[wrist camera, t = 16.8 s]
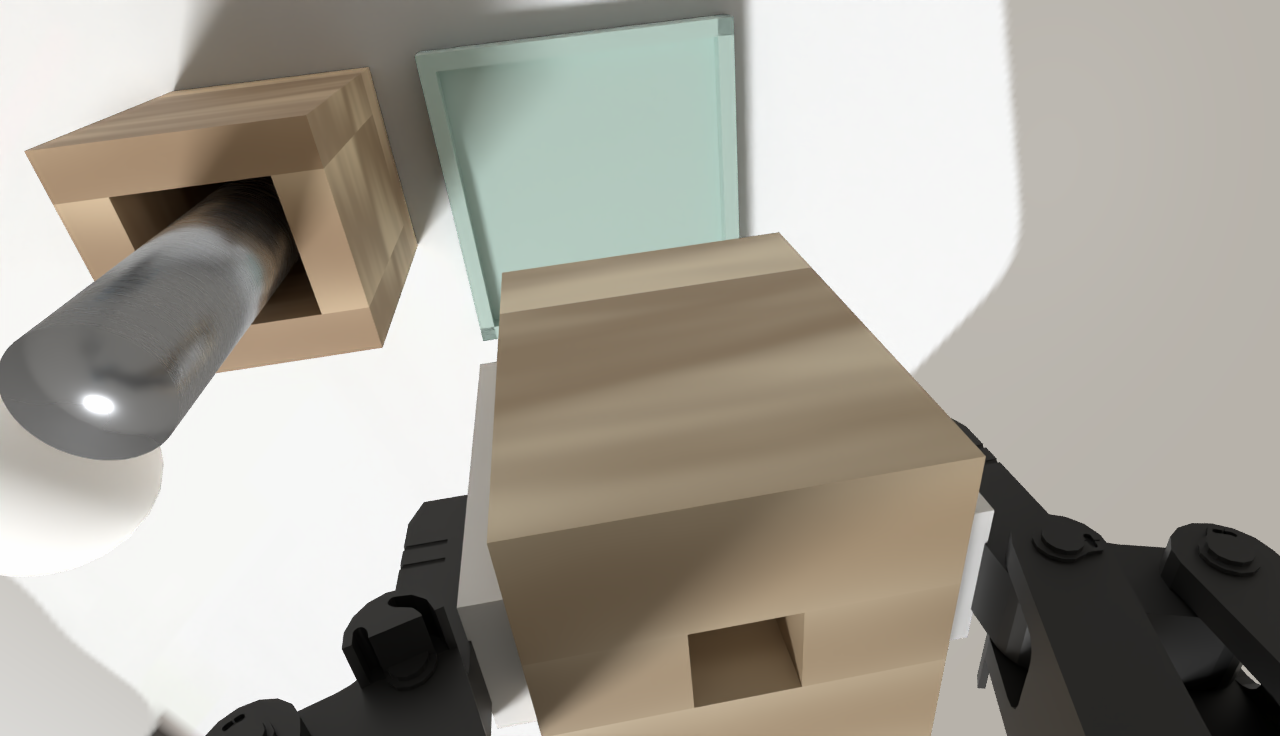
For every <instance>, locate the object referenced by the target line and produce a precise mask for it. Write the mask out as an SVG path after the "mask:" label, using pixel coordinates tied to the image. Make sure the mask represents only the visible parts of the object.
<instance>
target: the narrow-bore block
mask: <svg viewBox="0 0 1280 736" xmlns="http://www.w3.org/2000/svg"><path fill="white" fill-rule="evenodd" d="M985 458H986V456H985V455H984V454H983V453H982V452H981V450H980V449H979V448H978V447H977V446H976V445H975V444H974V443H973V442H972V441H971V440H970V439H969V437H968V436H967V435H966V434H965V433H964V432H963V431H962V430H961V429H960V428H959V427H958V426H957V425H956V423H955V422H954V421H953V420H952V419H951V418H950V417H949V416H948V415H947V414H946V413H945V412H944V410H943V409H942V408H941V407H940V406H939V405H938V404H937V403H936V402H935V401H934V400H933V399H932V398H931V397H930V395H929V394H928V393H927V392H926V391H925V390H924V389H923V388H922V387H921V386H920V385H919V384H918V382H917V381H916V380H915V379H914V378H913V377H912V376H911V375H910V374H909V373H908V371H907V370H906V369H905V368H904V367H903V366H902V365H901V364H900V363H899V362H898V361H897V360H896V359H895V357H894V356H893V355H892V354H891V353H890V352H889V351H888V350H887V349H886V348H885V347H884V346H883V344H882V343H881V342H880V341H879V340H878V339H877V338H876V337H875V336H874V335H873V334H872V333H871V331H870V330H869V329H868V328H867V327H866V326H865V325H864V324H863V323H862V322H861V321H860V320H859V318H858V317H857V316H856V315H855V314H854V313H853V312H852V311H851V310H850V309H849V308H848V307H847V305H846V304H845V303H844V302H843V301H842V300H841V299H840V298H839V297H838V296H837V295H836V294H835V293H834V291H833V290H832V289H831V288H830V287H829V286H828V285H827V284H826V283H825V282H824V281H823V280H822V278H821V277H820V276H819V275H818V274H817V273H816V272H815V271H814V270H813V269H812V268H811V267H810V265H809V264H808V263H807V262H806V261H805V260H804V259H803V258H802V257H801V256H800V255H799V254H798V252H797V251H796V250H795V249H794V248H793V247H792V246H791V245H790V244H789V243H788V242H787V241H786V240H785V238H784V237H783V236H782V235H781V234H780V233H779V232H778V233H771V234H764V235H758V236H751V237H744V238H737V239H730V240H723V241H716V242H709V243H703V244H696V245H689V246H682V247H675V248H668V249H661V250H655V251H648V252H641V253H634V254H627V255H620V256H613V257H606V258H600V259H593V260H586V261H579V262H572V263H565V264H558V265H552V266H545V267H538V268H531V269H524V270H517V271H510V272H503V273H502V282H501V300H500V317H499V335H498V353H497V370H496V388H495V406H494V423H493V441H492V459H491V476H490V494H489V511H488V529H487V546H488V549H489V553H490V556H491V560H492V563H493V567H494V570H495V574H496V577H497V581H498V585H499V588H500V592H501V595H502V599H503V602H504V606H505V609H506V613H507V616H508V620H509V623H510V627H511V630H512V634H513V637H514V641H515V644H516V648H517V651H518V655H519V658H520V662H521V665H522V669H523V672H524V676H525V679H526V683H527V686H528V690H529V693H530V697H531V700H532V704H533V707H534V711H535V714H536V718H537V721H538V725H539V728H540V732H541V735H542V736H931V732H932V726H933V721H934V716H935V711H936V706H937V701H938V696H939V691H940V686H941V681H942V675H943V671H944V666H945V661H946V656H947V650H948V645H949V640H950V635H951V630H952V625H953V620H954V615H955V610H956V605H957V600H958V595H959V590H960V585H961V580H962V575H963V570H964V564H965V559H966V554H967V549H968V544H969V539H970V534H971V529H972V524H973V519H974V514H975V509H976V504H977V499H978V494H979V488H980V483H981V478H982V473H983V468H984V463H985Z"/></svg>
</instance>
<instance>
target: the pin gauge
mask: <svg viewBox="0 0 1280 736" xmlns="http://www.w3.org/2000/svg"><path fill="white" fill-rule="evenodd" d="M299 258H300V254H299V251H298V248H297V245H296V243H295V240H294V237H293V235H292V232H291V229H290V226H289V224H288V221H287V218H286V216H285V213H284V210H283V207H282V205H281V202H280V199H279V197H278V194H277V191H276V188H275V186H274V183H273V180H272V178H271V176H264V177H257V178H249V179H242V180H234V181H227V182H226V183H224V184H223V185H222V186H220V187H219V188H218V189H216V190H215V191H214V192H212V193H211V194H210V195H208V196H207V197H206V198H204V199H203V200H202V201H200V202H199V203H198V204H197V205H195V206H194V207H193V208H191V209H190V210H189V211H187V212H186V213H185V214H183V215H182V216H181V217H179V218H178V219H177V220H175V221H174V222H173V223H171V224H170V225H169V226H167V227H166V228H165V229H163V230H162V231H161V232H159V233H158V234H157V235H155V236H154V237H153V238H151V239H150V240H149V241H148V242H146V243H145V244H144V245H142V246H141V247H140V248H138V249H137V250H136V251H134V252H133V253H132V254H130V255H129V256H128V257H126V258H125V259H124V260H122V261H121V262H120V263H118V264H117V265H116V266H114V267H113V268H112V269H110V270H109V271H108V272H106V273H105V274H104V275H103V276H101V277H100V278H99V279H97V280H96V281H95V282H93V283H92V284H91V285H89V286H88V287H87V288H85V289H84V290H83V291H81V292H80V293H79V294H77V295H76V296H75V297H73V298H72V299H71V300H69V301H68V302H67V303H65V304H64V305H63V306H61V307H60V308H59V309H57V310H56V311H55V312H54V313H52V314H51V315H50V316H48V317H47V318H46V319H44V320H43V321H42V322H40V323H39V324H38V325H36V326H35V327H34V328H32V329H31V330H30V331H28V332H27V333H26V334H24V335H23V336H22V337H20V338H19V339H18V340H16V341H15V342H14V343H13V344H12V345H11V346H10V347H9V348H8V349H7V350H6V352H5V353H4V355H3V356H2V358H1V361H0V395H1V398H2V400H3V402H4V404H5V406H6V408H7V409H8V411H9V412H10V413H11V415H12V416H13V418H14V419H15V420H16V421H17V422H18V423H19V424H20V425H21V426H22V427H23V428H24V429H26V430H27V431H28V432H29V433H30V434H32V435H33V436H35V437H36V438H37V439H39V440H41V441H42V442H44V443H46V444H47V445H49V446H51V447H54V448H56V449H58V450H60V451H63V452H66V453H68V454H72V455H75V456H79V457H83V458H88V459H95V460H124V459H130V458H134V457H138V456H141V455H144V454H146V453H148V452H151V451H153V450H154V449H156V448H157V447H159V446H160V445H162V444H163V443H164V442H165V441H166V440H167V439H168V438H169V436H170V435H171V434H172V432H173V431H174V430H175V428H176V427H177V426H178V424H179V423H180V421H181V420H182V419H183V417H184V416H185V415H186V413H187V412H188V410H189V409H190V408H191V406H192V405H193V404H194V402H195V401H196V399H197V398H198V397H199V395H200V394H201V393H202V391H203V390H204V388H205V387H206V386H207V384H208V383H209V382H210V380H211V379H212V377H213V376H214V375H215V373H216V372H217V371H218V369H219V368H220V366H221V365H222V364H223V362H224V361H225V360H226V358H227V357H228V355H229V354H230V353H231V351H232V350H233V349H234V347H235V346H236V344H237V343H238V342H239V340H240V339H241V338H242V336H243V335H244V333H245V332H246V331H247V329H248V328H249V327H250V325H251V324H252V322H253V321H254V320H255V318H256V317H257V316H258V314H259V313H260V311H261V310H262V309H263V307H264V306H265V305H266V303H267V302H268V300H269V299H270V298H271V296H272V295H273V294H274V292H275V291H276V289H277V288H278V287H279V285H280V284H281V283H282V281H283V280H284V278H285V277H286V276H287V274H288V273H289V272H290V270H291V269H292V267H293V266H294V265H295V263H296V262H297V261H298V259H299Z"/></svg>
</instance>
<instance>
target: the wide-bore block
mask: <svg viewBox="0 0 1280 736" xmlns="http://www.w3.org/2000/svg"><path fill="white" fill-rule="evenodd" d="M24 152H25V153H26V155H27V157H28V159H29V161H30V163H31V164H32V166H33V168H34V170H35V172H36V174H37V176H38V177H39V179H40V181H41V183H42V185H43V187H44V189H45V190H46V192H47V194H48V196H49V198H50V200H51V202H52V203H53V205H54V207H55V209H56V211H57V213H58V215H59V216H60V218H61V220H62V222H63V224H64V226H65V227H66V229H67V231H68V233H69V235H70V237H71V239H72V240H73V242H74V244H75V246H76V248H77V250H78V252H79V253H80V255H81V257H82V259H83V261H84V263H85V265H86V266H87V268H88V270H89V272H90V274H91V276H92V278H93V279H94V281H96V280H97V279H99V278H100V277H101V276H103V275H104V274H105V273H106V272H108V271H109V270H110V269H112V268H113V267H114V266H116V265H117V264H118V263H120V262H121V261H122V260H124V259H125V258H126V257H128V256H129V255H130V254H132V253H133V252H134V251H136V250H137V249H138V248H140V247H141V246H142V245H144V244H145V243H146V242H148V241H149V240H150V239H151V238H153V237H154V236H155V235H157V234H158V233H159V232H161V231H162V230H163V229H165V228H166V227H167V226H169V225H170V224H171V223H173V222H174V221H175V220H177V219H178V218H179V217H181V216H182V215H183V214H185V213H186V212H187V211H189V210H190V209H191V208H193V207H194V206H195V205H197V204H198V203H199V202H200V201H202V200H203V199H204V198H206V197H207V196H208V195H210V194H211V193H212V192H214V191H215V190H216V189H218V188H219V187H220V186H222V185H223V184H224V183H226V182H227V181H234V180H242V179H249V178H257V177H264V176H271V178H272V180H273V183H274V186H275V188H276V191H277V194H278V197H279V199H280V202H281V205H282V207H283V210H284V213H285V216H286V218H287V221H288V224H289V226H290V229H291V232H292V235H293V237H294V240H295V243H296V245H297V248H298V251H299V254H300V258H299V259H298V261H297V262H296V263H295V265H294V266H293V267H292V269H291V270H290V272H289V273H288V274H287V276H286V277H285V278H284V280H283V281H282V283H281V284H280V285H279V287H278V288H277V289H276V291H275V292H274V294H273V295H272V296H271V298H270V299H269V300H268V302H267V303H266V305H265V306H264V307H263V309H262V310H261V311H260V313H259V314H258V316H257V317H256V318H255V320H254V321H253V322H252V324H251V325H250V327H249V328H248V329H247V331H246V332H245V333H244V335H243V336H242V338H241V339H240V340H239V342H238V343H237V344H236V346H235V347H234V349H233V350H232V351H231V353H230V354H229V355H228V357H227V358H226V360H225V361H224V362H223V364H222V365H221V366H220V368H219V369H218V371H217V372H216V373H220V372H226V371H233V370H239V369H246V368H252V367H259V366H265V365H272V364H278V363H285V362H291V361H298V360H305V359H311V358H318V357H324V356H331V355H337V354H344V353H350V352H357V351H363V350H370V349H376V348H382V347H383V344H384V342H385V339H386V336H387V333H388V330H389V327H390V324H391V321H392V318H393V315H394V313H395V310H396V307H397V304H398V301H399V298H400V295H401V292H402V289H403V287H404V284H405V281H406V278H407V275H408V272H409V269H410V266H411V263H412V261H413V258H414V255H415V252H416V249H417V246H418V245H417V241H416V237H415V234H414V230H413V226H412V223H411V219H410V216H409V212H408V208H407V205H406V201H405V197H404V194H403V190H402V186H401V183H400V179H399V175H398V172H397V168H396V165H395V161H394V157H393V154H392V150H391V146H390V143H389V139H388V135H387V132H386V128H385V125H384V121H383V117H382V114H381V110H380V106H379V103H378V99H377V95H376V92H375V88H374V85H373V81H372V77H371V74H370V70H369V67H365V68H357V69H349V70H341V71H333V72H324V73H316V74H308V75H300V76H292V77H284V78H276V79H268V80H260V81H252V82H244V83H236V84H228V85H220V86H212V87H203V88H195V89H187V90H179V91H172V92H170V93H167V94H165V95H162V96H160V97H157V98H155V99H152V100H150V101H147V102H145V103H142V104H140V105H137V106H135V107H132V108H130V109H127V110H125V111H123V112H120V113H118V114H115V115H113V116H110V117H108V118H105V119H103V120H100V121H98V122H95V123H93V124H90V125H88V126H85V127H83V128H80V129H78V130H75V131H73V132H71V133H68V134H66V135H63V136H61V137H58V138H56V139H53V140H51V141H48V142H46V143H43V144H41V145H38V146H36V147H33V148H31V149H28V150H26V151H24Z"/></svg>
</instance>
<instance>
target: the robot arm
mask: <svg viewBox="0 0 1280 736" xmlns="http://www.w3.org/2000/svg"><path fill="white" fill-rule="evenodd" d="M496 370H497V362H492V363H486V364H480V373H479V383H478V393H477V404H476V414H475V424H474V435H473V445H472V455H471V466H470V476H469V486H468V495H464V496H458V497H452V498H446V499H440V500H434V501H428V502H424V503H423V504H422V506H421V507H420V509H419V510H418V511H417V513H416V514H415V516H414V517H413V518H412V520H411V521H410V523H409V524H408V529H407V534H406V539H405V544H404V549H405V550H404V551H403V555H402V560H401V565H400V566H401V570H399V575H398V580H397V585H396V590H395V591H392V592H388V593H385V594H383V595H382V596H380V597H378V598H376V599H374V600H372V601H371V602H369V603H367V604H366V605H365V606H364V607H363V608H362V609H361V610H360V611H359V612H358V613H357V614H356V615H355V616H354V617H353V618H352V620H351V621H350V623H349V625H348V627H347V628H346V630H345V632H344V636H343V644H342V650H343V652H344V654H345V656H346V658H347V661H348V663H349V665H350V667H351V669H352V671H353V673H354V675H355V677H356V679H357V680H356V681H355V682H354V683H353V684H351V685H350V686H348V687H346V688H345V689H343V690H341V691H339V692H338V693H336V694H334V695H332V696H330V697H328V698H325V699H323V700H321V701H319V702H317V703H315V704H313V705H310V706H308V707H306V708H304V709H302V710H300V711H298V712H297V711H296V709H295V708H294V706H293V705H292V704H291V703H288V702H286V701H283V700H280V699H265V700H258V701H255V702H252V703H250V704H247V705H245V706H242V707H240V708H238V709H236V710H235V711H233V712H232V713H230V714H229V715H227V716H226V717H225V718H223V719H222V720H220V721H219V722H218V723H217V724H216V725H215V726H214V727H213V728H212V729H211V730H210V731H209V732H208V734H207V735H206V736H491V717H492V713H493V716H494V719H495V722H496V725H497V728H498V729H499V728H504V727H509V726H514V725H520V724H525V723H530V722H535V721H537V718H536V714H535V711H534V707H533V704H532V700H531V697H530V693H529V690H528V686H527V683H526V679H525V676H524V672H523V669H522V665H521V662H520V658H519V655H518V651H517V648H516V644H515V641H514V637H513V634H512V630H511V627H510V623H509V620H508V616H507V613H506V609H505V606H504V602H503V599H502V595H501V592H500V588H499V585H498V581H497V577H496V574H495V570H494V567H493V563H492V560H491V556H490V553H489V549H488V546H487V529H488V511H489V494H490V476H491V459H492V441H493V423H494V406H495V388H496ZM951 419H952V418H951ZM952 420H953V421H954V422H955V423H956V425H957V426H958V427H959V428H960V429H961V430H962V431H963V432H964V433H965V434H966V435H967V436H968V437H969V439H970V440H971V441H972V442H973V443H974V444H975V445H976V446H977V447H978V448H979V449H980V450H981V452H982V453H983V454H984V455H985V456H986V458H985V463H984V468H983V473H982V478H981V483H980V488H979V494H978V499H977V504H976V509H975V514H974V519H973V524H972V529H971V534H970V539H969V544H968V549H967V554H966V559H965V564H964V570H963V575H962V580H961V585H960V590H959V595H958V600H957V605H956V610H955V615H954V620H953V625H952V630H951V635H950V640H955V639H961V638H965V637H968V632H969V627H970V623H971V618H972V613H974V615H975V616H976V617H977V619H978V620H979V621H980V623H981V625H982V626H983V628H984V629H985V631H986V632H987V636H986V640H985V644H984V649H983V653H982V657H981V662H980V666H979V670H978V675H977V680H978V688H985V687H986V683H987V678H988V675H989V674H990V677H991V680H992V684H993V687H994V691H995V694H996V698H997V702H998V705H999V709H1000V712H1001V716H1002V719H1003V723H1004V726H1005V730H1006V733H1007V736H1280V556H1279V555H1278V554H1277V553H1276V552H1275V551H1273V550H1272V549H1271V548H1269V547H1268V546H1266V545H1265V544H1263V543H1262V542H1260V541H1259V540H1257V539H1256V538H1254V537H1252V536H1249V535H1247V534H1245V533H1242V532H1240V531H1238V530H1235V529H1233V528H1228V527H1224V526H1220V525H1215V524H1208V523H1204V524H1203V523H1202V524H1201V523H1191V524H1188V525H1185V526H1182V527H1179V528H1177V529H1176V530H1175V532H1174V533H1173V534H1172V535H1171V536H1170V539H1169V541H1168V544H1167V547H1166V548H1160V547H1146V546H1132V545H1118V544H1111V543H1106V541H1105V540H1104V539H1103V538H1102V537H1101V535H1099V534H1098V533H1096V532H1095V531H1094V530H1092V529H1091V528H1089V527H1088V526H1086V525H1085V524H1082V523H1080V522H1077V521H1075V520H1072V519H1069V518H1067V517H1063V516H1056V515H1050V514H1048V513H1047V512H1046V511H1045V510H1044V509H1043V508H1042V506H1041V505H1040V504H1039V503H1038V502H1037V501H1036V500H1035V499H1034V498H1033V497H1032V496H1031V495H1030V494H1029V493H1028V492H1027V491H1026V489H1025V488H1024V487H1023V486H1022V485H1021V484H1020V483H1019V482H1018V481H1017V480H1016V479H1015V478H1014V477H1013V476H1012V475H1011V474H1010V473H1009V471H1008V470H1007V469H1006V468H1005V467H1004V466H1003V465H1002V464H1001V463H1000V462H999V463H997V460H996V458H995V457H994V456H993V454H992V453H991V452H990V451H988V449H987V448H983V444H982V443H981V442H980V441H979V440H978V438H976V436H975V435H974V434H973V433H972V432H971V431H970V430H969V429H968V428H967V427H966V426H964V425H963V424H961V423H959V422H957V421H955V420H954V419H952ZM950 640H949V641H950ZM1242 665H1244V666H1245V667H1246V668H1247V669H1248V671H1249V672H1250V673H1251V674H1252V675H1253V676H1254V677H1255V678H1256V679H1257V680H1258V681H1259V682H1260V683H1261V685H1259V684H1257V683H1255V682H1254V681H1253V680H1252V679H1250V678H1249V677H1248V676H1247V675H1246V674H1245V672H1244V671H1243V670H1242V669H1241V667H1242Z"/></svg>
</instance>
